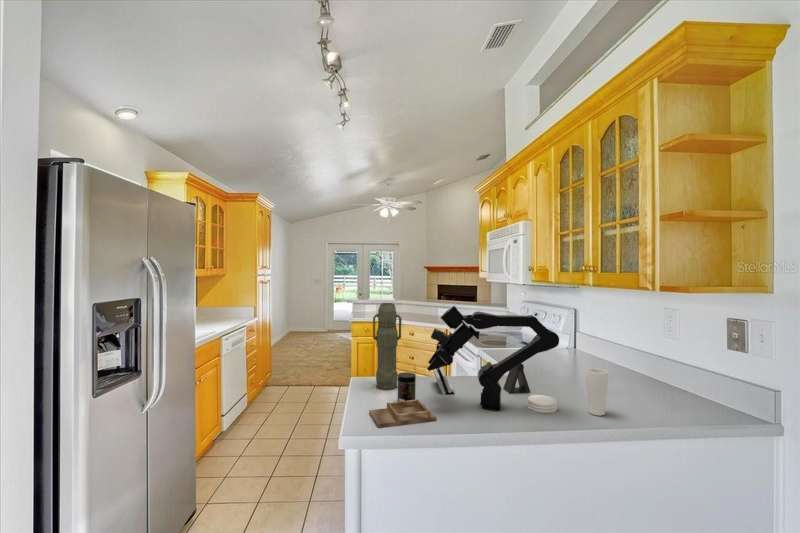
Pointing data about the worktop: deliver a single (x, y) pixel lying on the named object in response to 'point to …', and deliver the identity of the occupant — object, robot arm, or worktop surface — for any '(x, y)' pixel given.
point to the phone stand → (512, 379)
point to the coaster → (541, 403)
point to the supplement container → (406, 386)
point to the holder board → (402, 414)
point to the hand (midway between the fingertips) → (428, 366)
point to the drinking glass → (597, 390)
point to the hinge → (443, 381)
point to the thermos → (386, 346)
